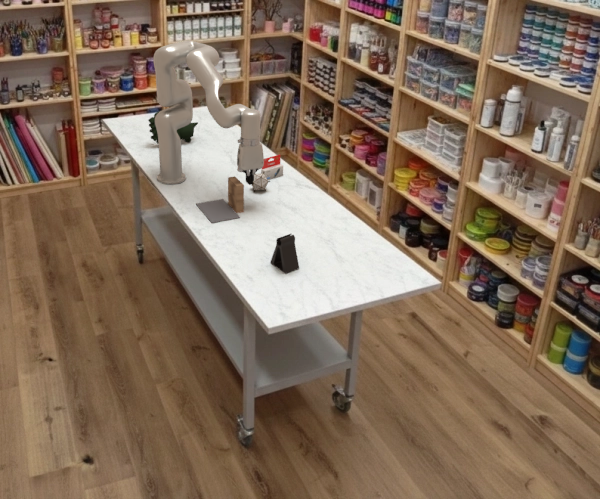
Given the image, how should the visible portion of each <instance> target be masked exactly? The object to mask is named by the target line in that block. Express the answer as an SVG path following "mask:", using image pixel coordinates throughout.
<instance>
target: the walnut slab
mask: <svg viewBox="0 0 600 499" xmlns="http://www.w3.org/2000/svg"><path fill="white" fill-rule="evenodd" d="M244 194H245V185H244V183H242V181H240V179H238V178H237V177H236V176H235V175H234V176H230V177H229V176H228V177H227V200H228V201H227V204H228V205H229V206H230V207H231V208H232V209H233V210H234V211H235V212H236V213H237V214H239V213H240V214H241V213H244V207H245V206H244V205H245V204H244V203H245V200H244V199H245V195H244Z"/></svg>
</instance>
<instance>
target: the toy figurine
mask: <svg viewBox="0 0 600 499" xmlns="http://www.w3.org/2000/svg"><path fill="white" fill-rule="evenodd" d="M160 111H161V110H160ZM160 111H157V112H155V113H154V114H153V117H150V118H149V119H147V121H148V127H149V128H150V129H149V132H150V133H151V134H152V135H150V139H151V140H153V142H156V143H157V144H158V145H159V143H158V134H157V129H156V125H155V117H156V115H157V114H158V113H159V112H160ZM197 125H199V122H191V123H190V124H189V125H187V126H185V127H182V128H180V129H178V130H177V133H178V135H179V137H180V139H181V141H184V142H185V143H190V142H191V141H192V137H194V132H195V127H197Z"/></svg>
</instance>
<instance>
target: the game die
mask: <svg viewBox="0 0 600 499" xmlns="http://www.w3.org/2000/svg"><path fill="white" fill-rule="evenodd" d="M264 173H265V172H263V173H260V172H259V173H255V175H254V181H253V184H251V186H252V188H253V193H255V192H256V191H263V190H264V191H265V192H267V190H266V188H267V185H268V183H270V182H271V180H267V178H266V176H265V175H264Z"/></svg>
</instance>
